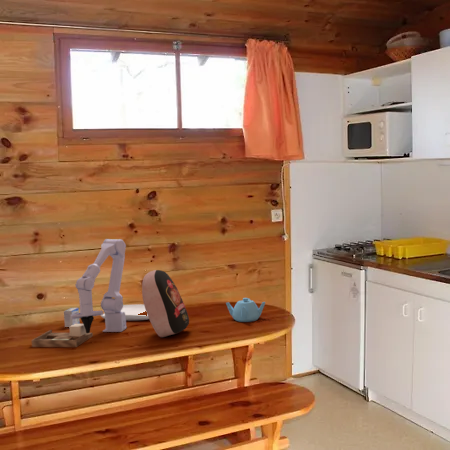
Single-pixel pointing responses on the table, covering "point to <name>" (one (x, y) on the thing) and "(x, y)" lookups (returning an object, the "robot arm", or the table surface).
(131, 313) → the square plate
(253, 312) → the teapot
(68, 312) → the medicine box
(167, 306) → the packaged food
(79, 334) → the cream block
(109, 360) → the table surface
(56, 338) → the trap tray
